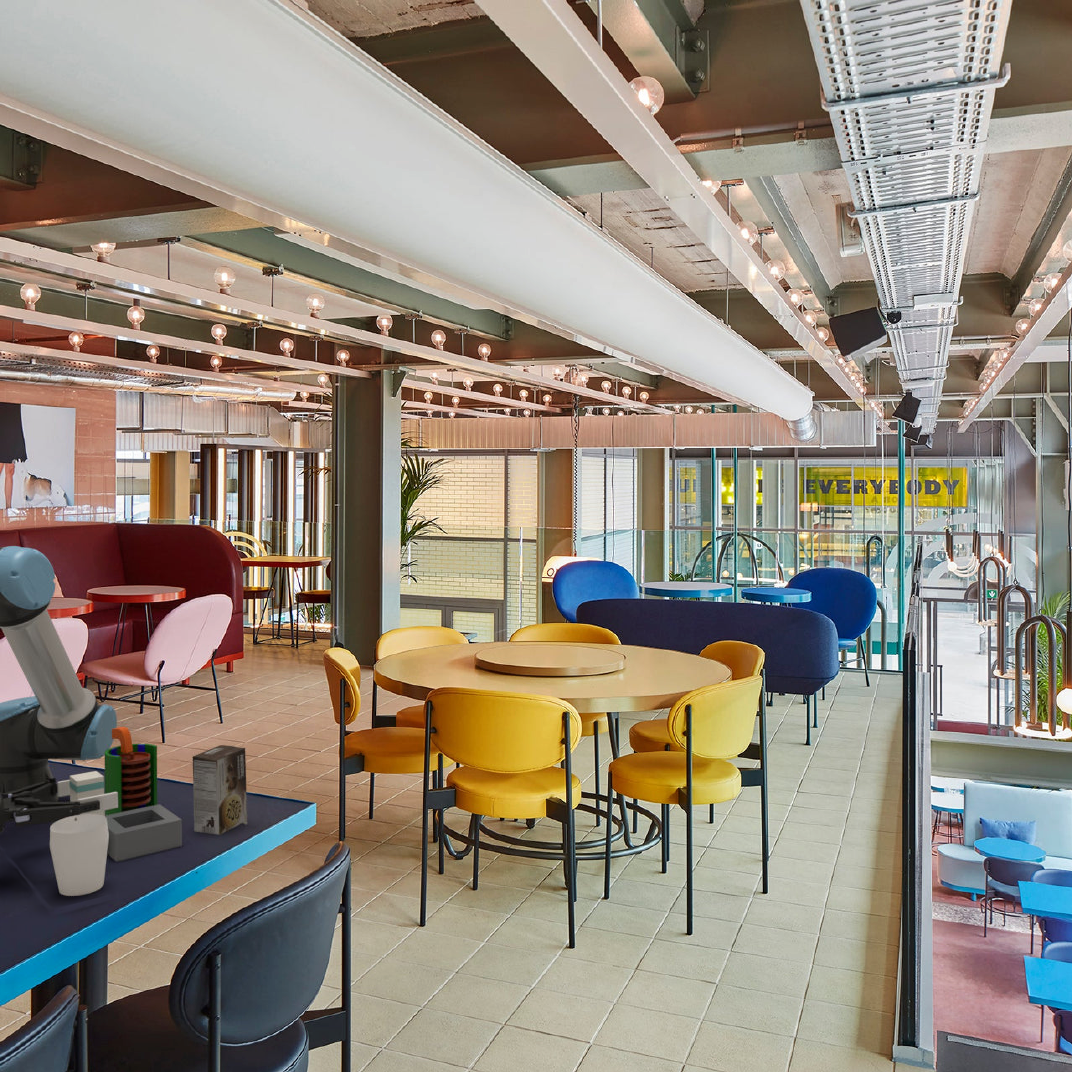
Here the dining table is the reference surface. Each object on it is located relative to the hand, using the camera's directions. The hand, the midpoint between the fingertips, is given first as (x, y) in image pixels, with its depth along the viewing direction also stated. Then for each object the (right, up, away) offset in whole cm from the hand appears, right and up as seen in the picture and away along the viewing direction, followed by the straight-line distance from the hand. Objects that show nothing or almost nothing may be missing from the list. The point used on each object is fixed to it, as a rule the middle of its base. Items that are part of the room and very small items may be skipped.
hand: (105, 790), depth 178 cm
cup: (+3, -13, -15) cm, 21 cm away
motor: (-3, -12, +18) cm, 22 cm away
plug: (-2, -13, -2) cm, 13 cm away
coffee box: (+17, -12, +15) cm, 25 cm away
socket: (+4, -12, +4) cm, 14 cm away
